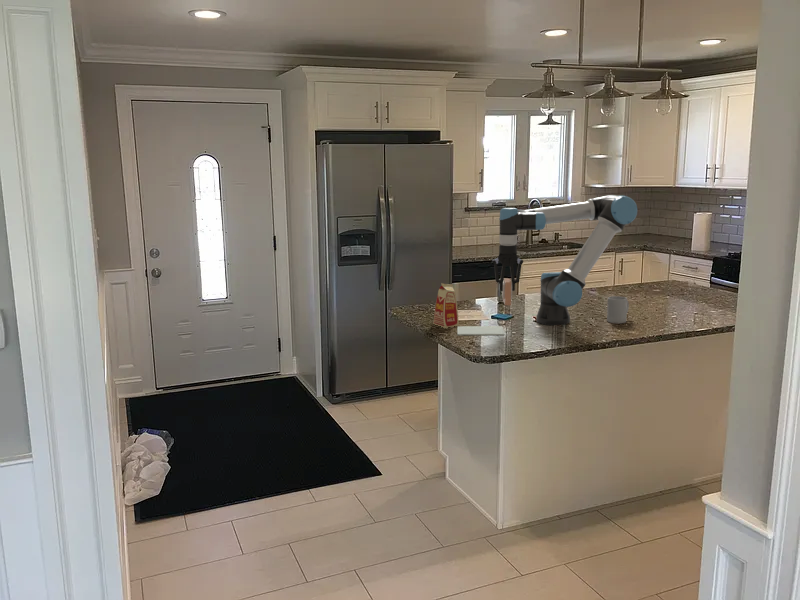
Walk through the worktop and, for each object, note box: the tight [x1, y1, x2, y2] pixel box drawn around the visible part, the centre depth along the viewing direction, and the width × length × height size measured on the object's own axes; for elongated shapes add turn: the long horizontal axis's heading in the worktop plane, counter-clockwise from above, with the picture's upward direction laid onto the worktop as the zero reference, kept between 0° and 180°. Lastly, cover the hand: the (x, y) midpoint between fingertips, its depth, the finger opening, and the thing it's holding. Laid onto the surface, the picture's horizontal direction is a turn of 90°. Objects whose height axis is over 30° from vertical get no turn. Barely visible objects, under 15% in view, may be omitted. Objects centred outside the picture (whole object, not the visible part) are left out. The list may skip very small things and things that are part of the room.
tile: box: [502, 277, 512, 306], centre depth 294 cm, size 2×10×10 cm, turn 176°
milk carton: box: [432, 282, 460, 329], centre depth 310 cm, size 9×9×20 cm
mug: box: [606, 295, 630, 324], centre depth 311 cm, size 12×8×11 cm
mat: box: [456, 325, 505, 336], centre depth 299 cm, size 20×14×1 cm
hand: (507, 298), depth 295 cm, fingers closed on tile, 3 cm apart
